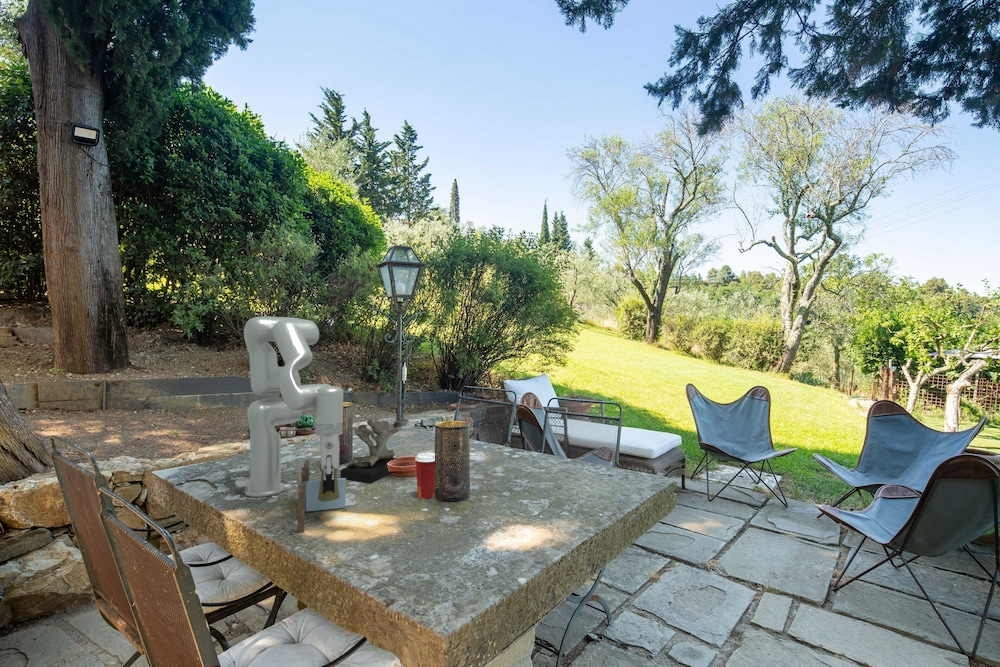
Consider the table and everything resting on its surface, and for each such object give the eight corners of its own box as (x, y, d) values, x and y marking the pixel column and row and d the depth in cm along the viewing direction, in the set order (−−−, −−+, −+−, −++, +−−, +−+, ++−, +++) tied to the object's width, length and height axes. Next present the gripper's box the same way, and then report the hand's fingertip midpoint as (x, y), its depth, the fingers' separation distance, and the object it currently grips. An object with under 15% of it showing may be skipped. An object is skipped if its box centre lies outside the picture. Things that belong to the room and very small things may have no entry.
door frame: (296, 533, 131) (297, 486, 131) (303, 499, 157) (304, 459, 157) (304, 532, 132) (305, 485, 132) (310, 498, 158) (310, 459, 158)
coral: (379, 462, 202) (380, 411, 202) (421, 468, 194) (421, 415, 194) (338, 478, 179) (339, 421, 179) (383, 486, 171) (384, 427, 171)
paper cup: (441, 494, 164) (442, 453, 164) (429, 501, 157) (429, 459, 157) (422, 490, 167) (423, 451, 167) (409, 497, 160) (410, 456, 160)
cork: (321, 494, 144) (321, 458, 144) (341, 494, 144) (342, 457, 144) (315, 501, 138) (315, 463, 138) (336, 501, 138) (337, 463, 138)
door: (345, 507, 149) (345, 479, 149) (302, 511, 145) (302, 482, 145) (345, 506, 151) (345, 477, 150) (302, 510, 146) (302, 481, 146)
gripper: (343, 433, 134) (342, 498, 134) (342, 422, 150) (342, 481, 150) (314, 435, 132) (313, 501, 132) (317, 424, 148) (316, 483, 148)
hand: (328, 489), depth 141 cm, fingers closed on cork, 3 cm apart
